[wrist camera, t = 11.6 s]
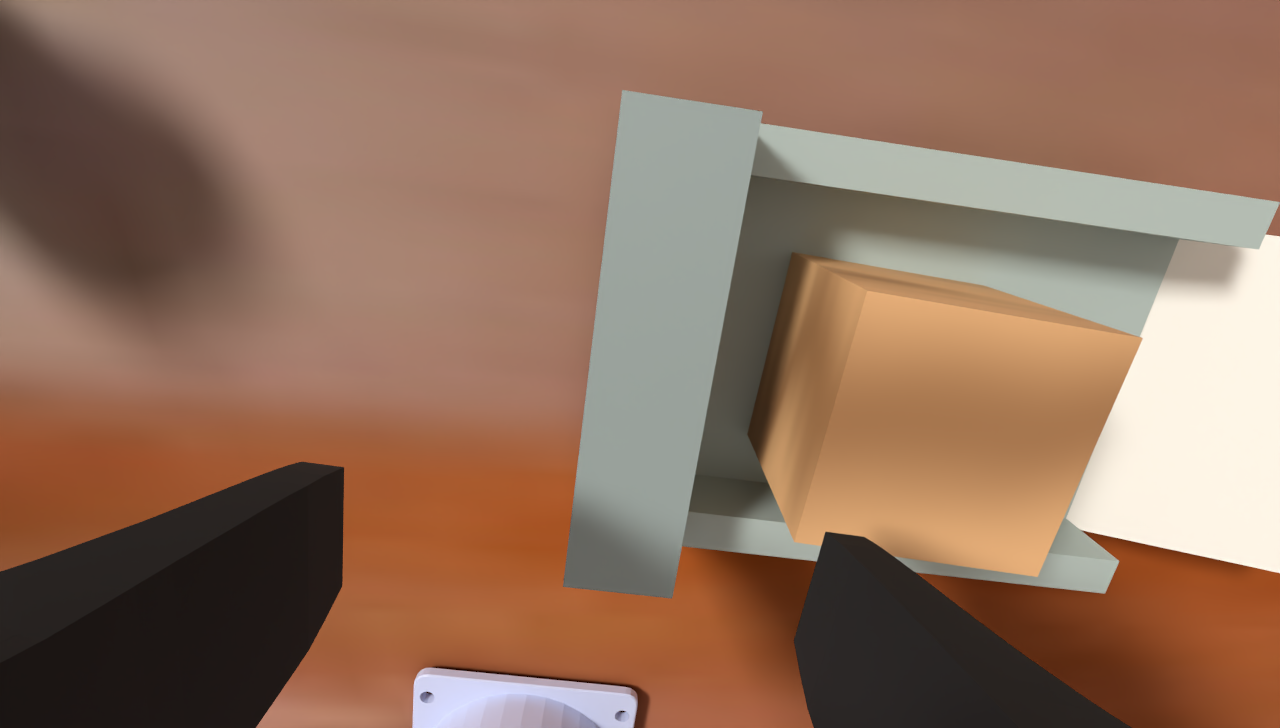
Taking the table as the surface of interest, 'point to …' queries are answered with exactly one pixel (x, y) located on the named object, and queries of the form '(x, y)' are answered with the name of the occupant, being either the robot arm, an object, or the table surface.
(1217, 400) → the panel
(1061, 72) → the table surface
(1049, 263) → the bed
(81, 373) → the table surface
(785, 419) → the block
